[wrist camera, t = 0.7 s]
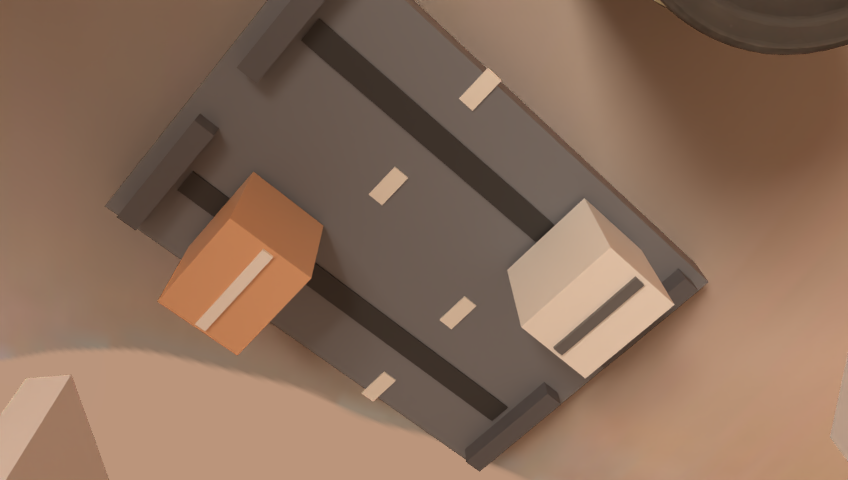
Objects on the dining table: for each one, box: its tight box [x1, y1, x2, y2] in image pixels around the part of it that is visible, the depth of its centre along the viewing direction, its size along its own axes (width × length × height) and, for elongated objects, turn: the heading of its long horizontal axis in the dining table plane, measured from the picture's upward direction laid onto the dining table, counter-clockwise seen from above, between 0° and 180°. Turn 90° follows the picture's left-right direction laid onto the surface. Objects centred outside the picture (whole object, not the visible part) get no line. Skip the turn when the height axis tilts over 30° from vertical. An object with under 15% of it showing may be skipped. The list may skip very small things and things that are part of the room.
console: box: [105, 0, 708, 471], centre depth 37 cm, size 24×17×3 cm
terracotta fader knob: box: [157, 172, 323, 355], centre depth 33 cm, size 4×5×5 cm
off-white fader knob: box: [507, 198, 674, 379], centre depth 34 cm, size 4×5×5 cm
